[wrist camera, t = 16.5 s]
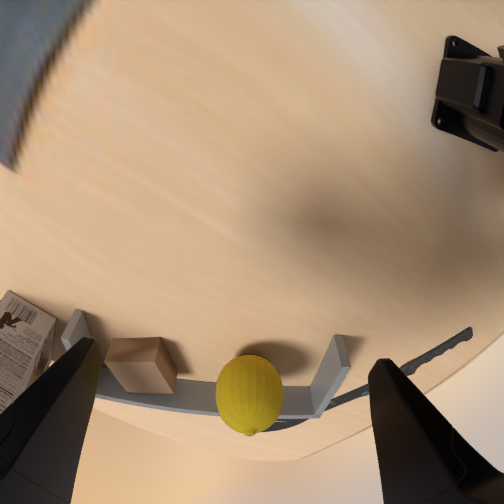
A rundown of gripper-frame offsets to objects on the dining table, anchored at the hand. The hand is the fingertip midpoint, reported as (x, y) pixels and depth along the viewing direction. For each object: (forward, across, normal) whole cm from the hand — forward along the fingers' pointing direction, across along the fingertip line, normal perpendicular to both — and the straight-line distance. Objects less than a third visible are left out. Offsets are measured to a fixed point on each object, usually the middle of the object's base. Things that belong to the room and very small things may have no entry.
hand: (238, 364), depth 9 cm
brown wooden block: (+12, +8, +17) cm, 22 cm away
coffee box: (+12, +21, +16) cm, 29 cm away
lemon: (+12, -2, +15) cm, 19 cm away
